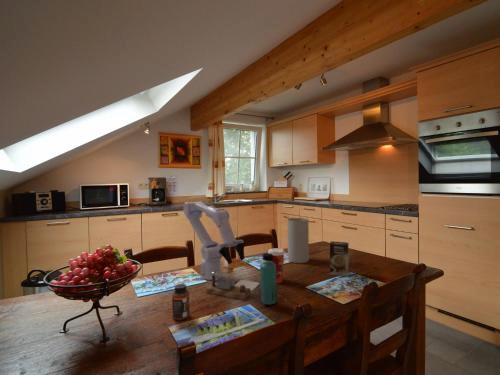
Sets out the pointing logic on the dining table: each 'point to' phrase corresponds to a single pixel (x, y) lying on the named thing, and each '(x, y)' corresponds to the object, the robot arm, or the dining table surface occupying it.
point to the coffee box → (339, 258)
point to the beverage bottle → (268, 280)
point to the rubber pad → (248, 284)
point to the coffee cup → (278, 262)
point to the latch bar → (220, 274)
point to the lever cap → (226, 283)
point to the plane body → (234, 293)
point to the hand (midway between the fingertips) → (236, 261)
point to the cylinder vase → (298, 240)
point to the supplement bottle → (180, 302)
